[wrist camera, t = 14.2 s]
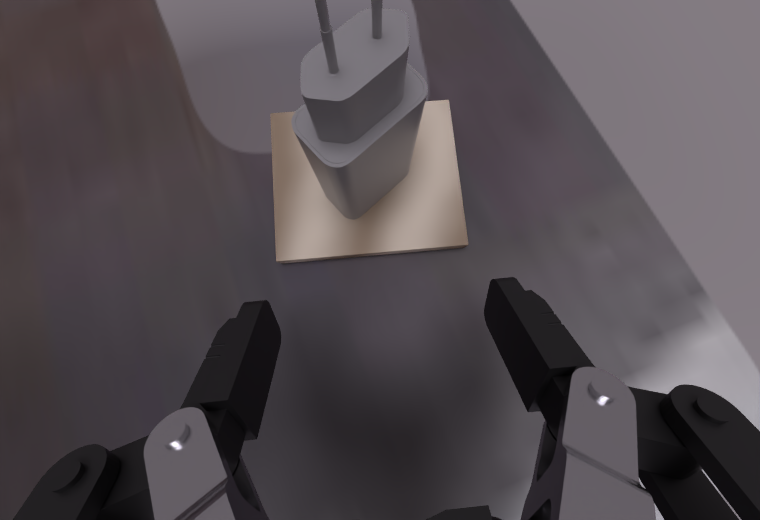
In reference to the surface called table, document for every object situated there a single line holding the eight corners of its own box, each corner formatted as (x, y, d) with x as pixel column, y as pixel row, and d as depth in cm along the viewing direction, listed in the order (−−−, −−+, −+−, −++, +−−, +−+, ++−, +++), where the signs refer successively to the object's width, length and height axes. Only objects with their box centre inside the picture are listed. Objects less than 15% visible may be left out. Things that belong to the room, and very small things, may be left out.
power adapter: (319, 189, 19) (214, -11, 7) (381, 136, 19) (386, -136, 7) (351, 224, 18) (303, 80, 6) (413, 169, 19) (476, -59, 7)
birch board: (281, 263, 19) (276, 261, 18) (275, 122, 20) (270, 113, 19) (463, 247, 19) (468, 244, 18) (445, 109, 20) (448, 99, 19)
